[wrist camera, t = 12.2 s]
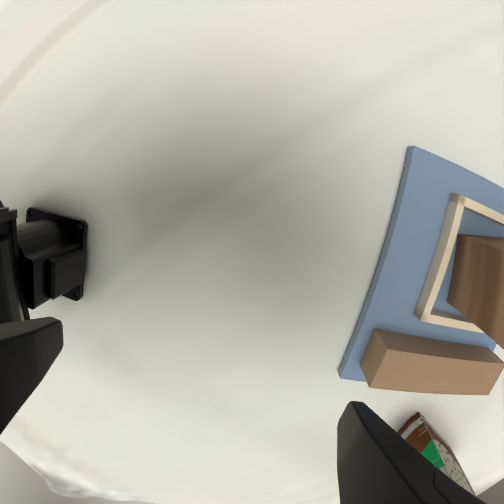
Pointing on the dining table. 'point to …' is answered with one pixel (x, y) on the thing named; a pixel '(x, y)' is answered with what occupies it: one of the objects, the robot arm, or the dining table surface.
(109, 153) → the dining table surface
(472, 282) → the pillar
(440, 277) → the blueprint board
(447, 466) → the food container
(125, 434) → the dining table surface
